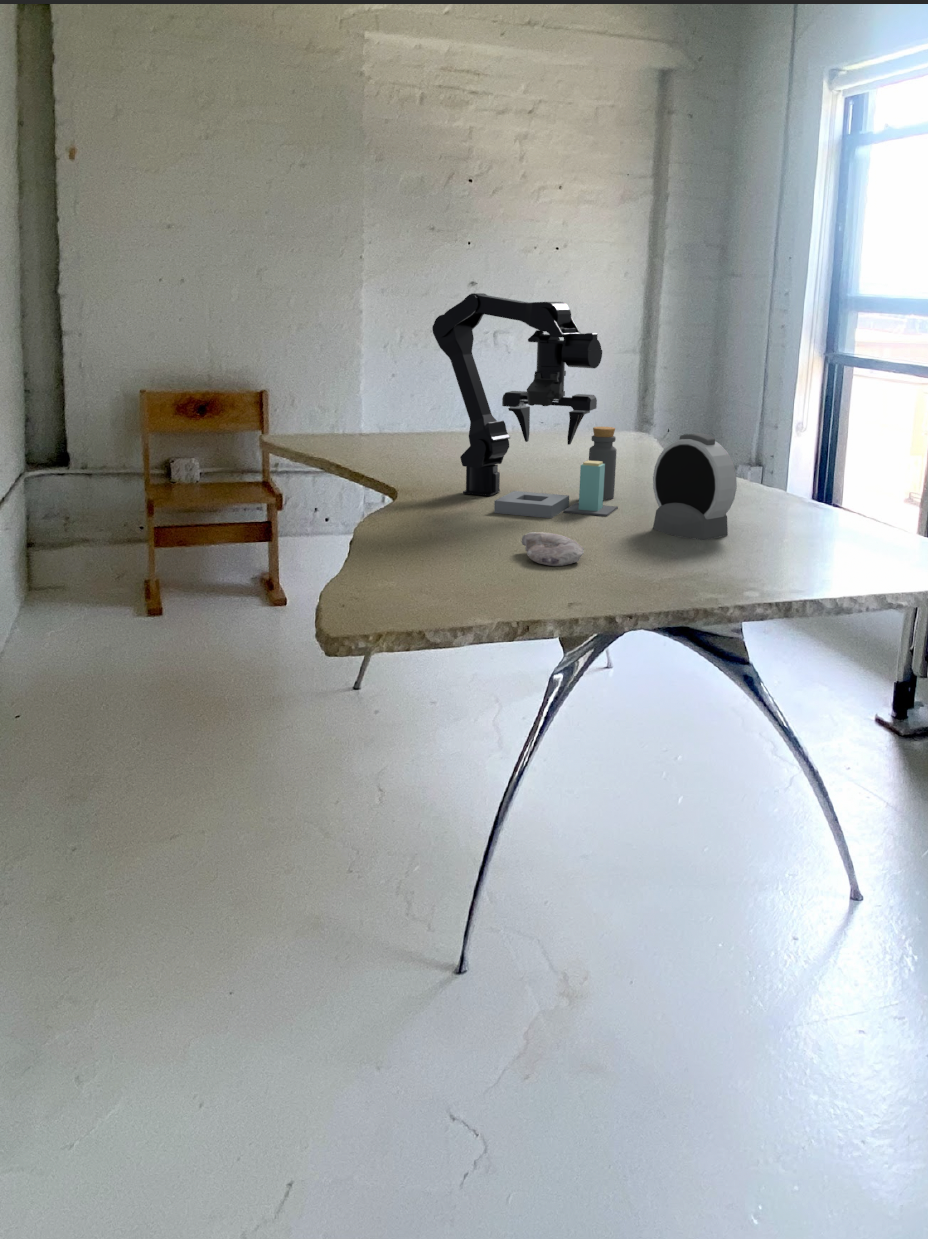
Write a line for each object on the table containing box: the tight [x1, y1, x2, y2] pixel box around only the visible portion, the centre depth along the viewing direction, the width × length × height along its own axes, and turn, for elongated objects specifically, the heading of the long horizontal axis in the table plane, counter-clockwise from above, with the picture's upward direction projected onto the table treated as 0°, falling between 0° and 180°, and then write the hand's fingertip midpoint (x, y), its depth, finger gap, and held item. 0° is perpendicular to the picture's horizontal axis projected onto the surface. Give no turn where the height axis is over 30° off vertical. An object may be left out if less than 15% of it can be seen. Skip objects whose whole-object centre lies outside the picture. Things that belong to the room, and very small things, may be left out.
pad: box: [562, 502, 619, 517], centre depth 217 cm, size 9×9×1 cm
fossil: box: [521, 531, 585, 567], centre depth 177 cm, size 12×4×10 cm
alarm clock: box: [652, 432, 738, 541], centre depth 197 cm, size 16×10×18 cm, turn 37°
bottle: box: [588, 426, 618, 501], centre depth 229 cm, size 6×6×15 cm
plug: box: [578, 459, 605, 511], centre depth 216 cm, size 4×4×10 cm
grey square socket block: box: [493, 490, 570, 519], centre depth 216 cm, size 12×12×2 cm
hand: (547, 443), depth 221 cm, fingers open, 9 cm apart
